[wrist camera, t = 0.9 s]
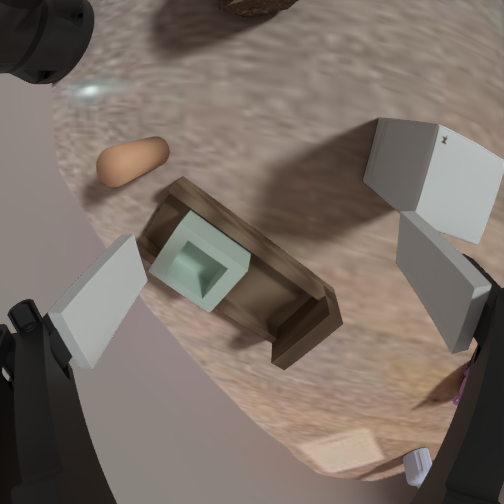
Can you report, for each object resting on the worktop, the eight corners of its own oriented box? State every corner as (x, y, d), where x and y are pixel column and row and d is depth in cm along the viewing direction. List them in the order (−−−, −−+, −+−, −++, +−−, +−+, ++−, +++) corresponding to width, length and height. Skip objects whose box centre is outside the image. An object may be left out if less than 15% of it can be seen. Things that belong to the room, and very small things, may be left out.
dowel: (136, 155, 36) (90, 173, 26) (151, 130, 34) (107, 139, 24) (159, 172, 36) (119, 195, 27) (175, 147, 35) (137, 161, 25)
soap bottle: (414, 447, 65) (428, 512, 43) (433, 446, 66) (448, 506, 44) (397, 460, 69) (407, 521, 47) (416, 458, 70) (428, 516, 48)
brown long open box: (144, 238, 41) (119, 264, 34) (183, 176, 36) (160, 192, 29) (284, 333, 46) (284, 370, 39) (333, 288, 42) (343, 323, 35)
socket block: (164, 249, 39) (148, 271, 34) (194, 205, 36) (180, 222, 31) (217, 287, 41) (209, 313, 36) (252, 247, 38) (247, 270, 33)
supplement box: (360, 182, 35) (406, 224, 22) (377, 115, 31) (437, 120, 18) (418, 201, 35) (478, 248, 22) (436, 140, 31) (508, 161, 18)
